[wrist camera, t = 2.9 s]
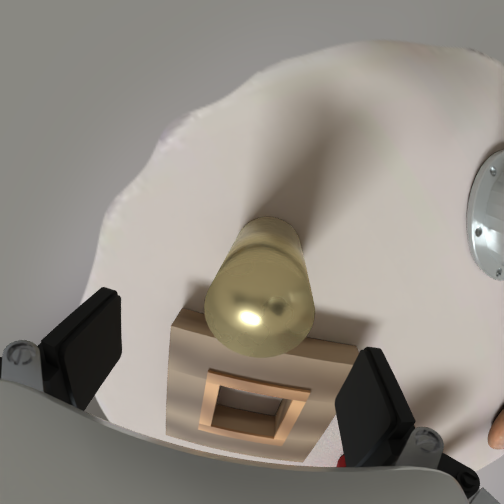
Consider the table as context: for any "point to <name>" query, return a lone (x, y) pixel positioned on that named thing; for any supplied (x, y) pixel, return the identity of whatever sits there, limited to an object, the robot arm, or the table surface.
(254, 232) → the brass peg
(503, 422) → the ceramic jug
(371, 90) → the table surface
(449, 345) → the table surface
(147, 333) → the table surface
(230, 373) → the walnut plate
